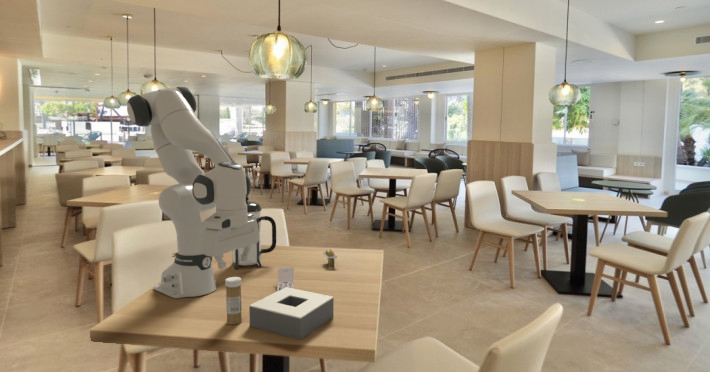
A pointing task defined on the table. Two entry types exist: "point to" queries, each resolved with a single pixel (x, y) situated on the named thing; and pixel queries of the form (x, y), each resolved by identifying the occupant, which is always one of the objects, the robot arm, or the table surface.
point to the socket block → (291, 312)
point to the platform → (330, 257)
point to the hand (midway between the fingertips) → (233, 264)
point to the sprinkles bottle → (233, 300)
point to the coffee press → (256, 249)
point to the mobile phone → (285, 278)
